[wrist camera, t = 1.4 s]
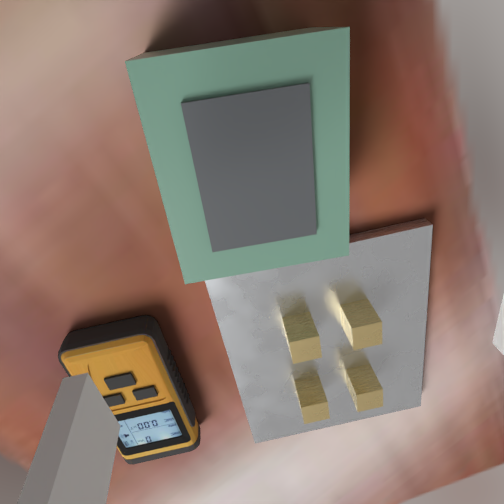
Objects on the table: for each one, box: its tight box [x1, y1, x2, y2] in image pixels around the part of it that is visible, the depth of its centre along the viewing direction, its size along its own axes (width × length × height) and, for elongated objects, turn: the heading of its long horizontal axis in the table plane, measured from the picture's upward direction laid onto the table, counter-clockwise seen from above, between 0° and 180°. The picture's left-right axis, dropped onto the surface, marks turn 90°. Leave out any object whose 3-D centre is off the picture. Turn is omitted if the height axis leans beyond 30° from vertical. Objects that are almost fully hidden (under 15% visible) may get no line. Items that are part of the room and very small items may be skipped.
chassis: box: [205, 218, 433, 443], centre depth 34 cm, size 22×18×4 cm
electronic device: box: [58, 315, 200, 464], centre depth 35 cm, size 8×16×3 cm, turn 11°
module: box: [125, 27, 350, 284], centre depth 23 cm, size 12×10×7 cm
